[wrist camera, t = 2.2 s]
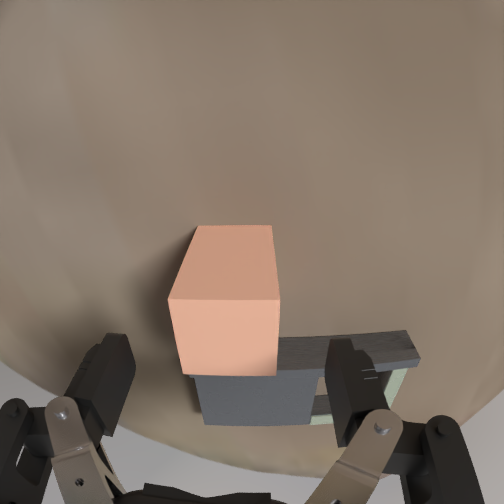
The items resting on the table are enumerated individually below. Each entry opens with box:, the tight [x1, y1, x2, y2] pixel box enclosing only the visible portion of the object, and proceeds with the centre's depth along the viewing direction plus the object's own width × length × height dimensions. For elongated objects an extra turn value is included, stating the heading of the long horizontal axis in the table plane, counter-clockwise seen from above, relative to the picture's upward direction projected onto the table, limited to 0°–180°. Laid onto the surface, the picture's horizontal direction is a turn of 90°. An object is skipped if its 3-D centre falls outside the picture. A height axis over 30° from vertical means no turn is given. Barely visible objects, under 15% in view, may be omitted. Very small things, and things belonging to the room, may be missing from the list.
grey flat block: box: [189, 330, 421, 426], centre depth 21 cm, size 8×15×3 cm, turn 91°
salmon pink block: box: [168, 225, 280, 376], centre depth 15 cm, size 4×4×7 cm
